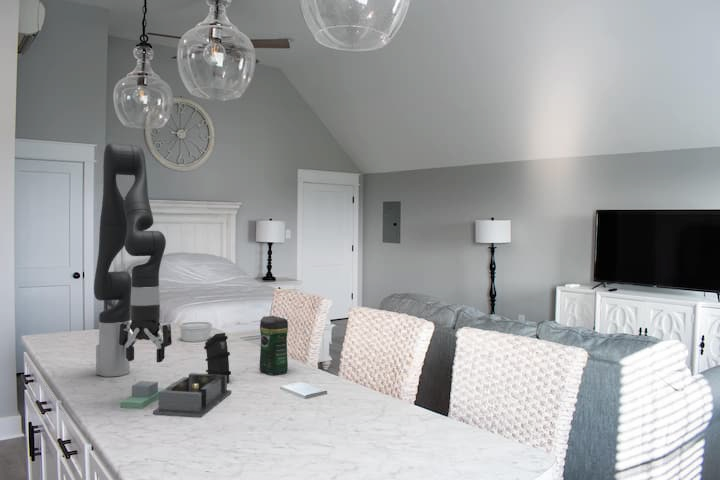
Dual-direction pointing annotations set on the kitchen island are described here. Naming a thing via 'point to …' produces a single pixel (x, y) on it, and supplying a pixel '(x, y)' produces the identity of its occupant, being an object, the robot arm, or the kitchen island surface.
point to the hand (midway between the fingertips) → (145, 361)
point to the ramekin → (195, 331)
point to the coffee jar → (273, 345)
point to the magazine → (218, 355)
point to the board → (140, 401)
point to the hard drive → (303, 390)
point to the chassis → (193, 395)
